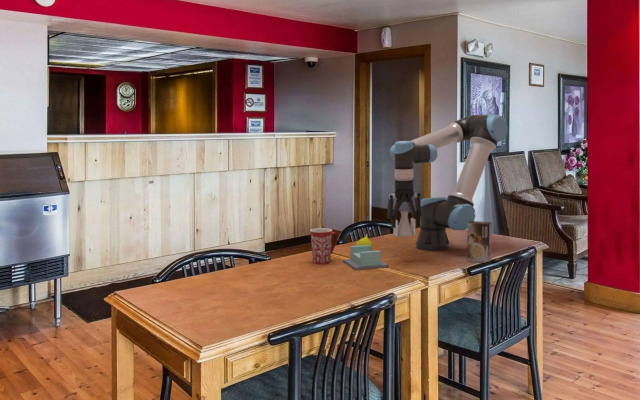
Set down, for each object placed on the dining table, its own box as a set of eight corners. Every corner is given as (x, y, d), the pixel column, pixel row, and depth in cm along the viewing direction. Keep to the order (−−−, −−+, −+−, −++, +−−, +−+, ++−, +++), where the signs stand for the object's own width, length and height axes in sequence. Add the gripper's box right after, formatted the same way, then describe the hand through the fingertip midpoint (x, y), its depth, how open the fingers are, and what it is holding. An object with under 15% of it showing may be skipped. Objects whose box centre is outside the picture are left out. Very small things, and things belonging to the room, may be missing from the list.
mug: (319, 266, 224) (319, 232, 222) (306, 261, 231) (305, 229, 229) (343, 261, 231) (343, 229, 230) (330, 257, 239) (329, 226, 237)
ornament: (373, 253, 246) (373, 230, 245) (371, 256, 239) (371, 233, 238) (356, 252, 248) (357, 230, 246) (355, 256, 241) (355, 233, 239)
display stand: (375, 259, 234) (375, 244, 233) (388, 267, 221) (388, 251, 220) (343, 261, 230) (343, 246, 229) (354, 270, 217) (354, 253, 216)
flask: (392, 234, 232) (392, 211, 231) (407, 233, 235) (407, 209, 234) (401, 238, 225) (401, 213, 224) (416, 236, 228) (416, 212, 227)
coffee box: (491, 260, 232) (492, 221, 230) (489, 263, 226) (490, 224, 224) (469, 258, 236) (470, 220, 234) (466, 261, 230) (467, 222, 228)
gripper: (422, 177, 233) (422, 231, 237) (377, 179, 228) (378, 235, 231) (430, 178, 226) (430, 234, 229) (384, 181, 221) (385, 238, 224)
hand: (404, 234), depth 230 cm, fingers closed on flask, 7 cm apart
